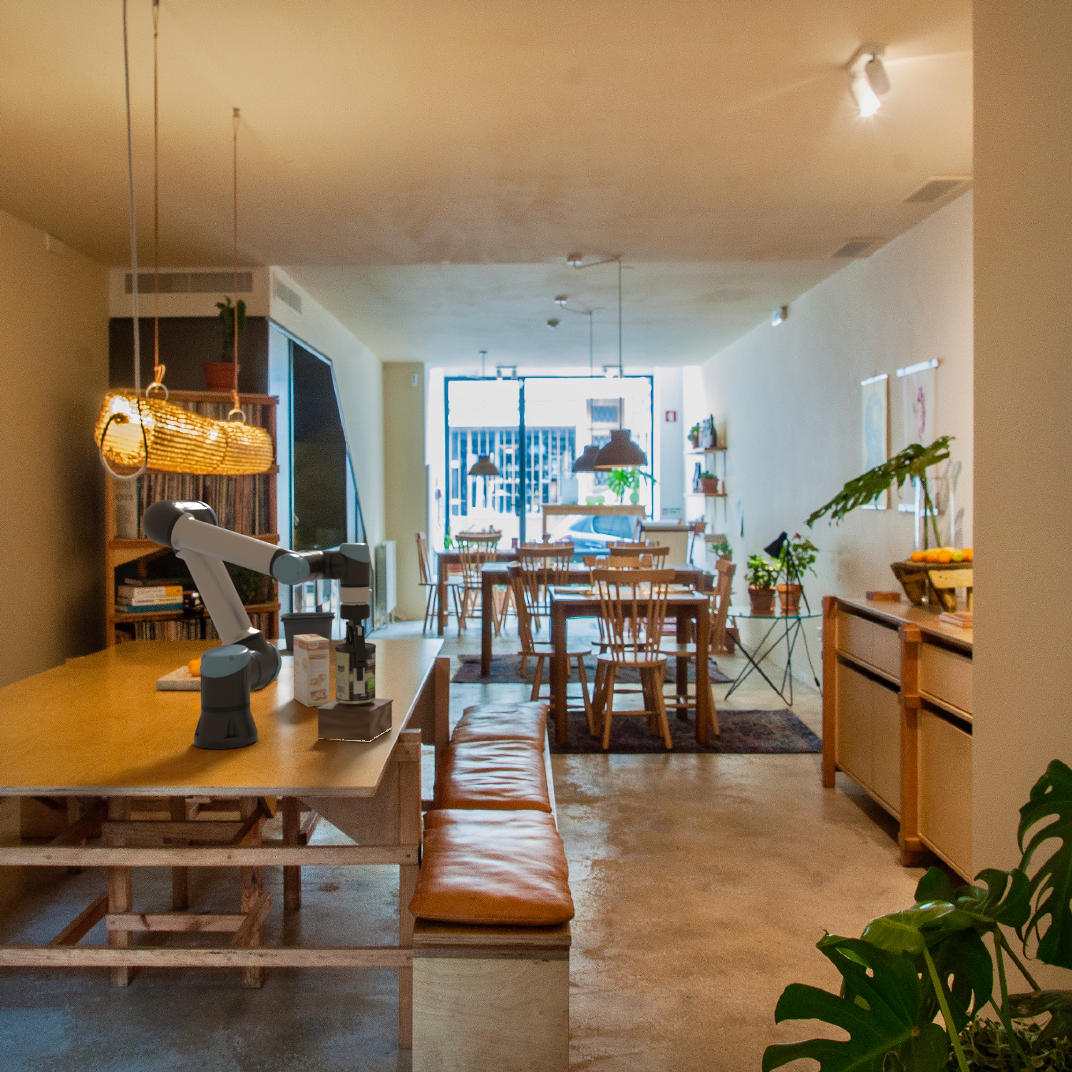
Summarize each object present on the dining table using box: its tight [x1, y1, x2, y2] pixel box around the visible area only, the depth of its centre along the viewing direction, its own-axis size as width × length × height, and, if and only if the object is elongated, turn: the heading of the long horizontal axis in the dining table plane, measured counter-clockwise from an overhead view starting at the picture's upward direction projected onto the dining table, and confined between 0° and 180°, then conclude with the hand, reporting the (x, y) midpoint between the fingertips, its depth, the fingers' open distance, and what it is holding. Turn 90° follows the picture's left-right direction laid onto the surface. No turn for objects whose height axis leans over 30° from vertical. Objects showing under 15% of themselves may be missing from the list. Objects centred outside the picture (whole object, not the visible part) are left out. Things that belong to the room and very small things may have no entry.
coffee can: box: [334, 642, 377, 704], centre depth 238 cm, size 10×10×14 cm
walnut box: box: [315, 698, 394, 741], centre depth 238 cm, size 15×15×8 cm
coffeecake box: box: [293, 634, 331, 708], centre depth 277 cm, size 15×7×20 cm, turn 30°
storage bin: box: [279, 611, 336, 651], centre depth 379 cm, size 21×16×14 cm
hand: (355, 689), depth 238 cm, fingers open, 10 cm apart
